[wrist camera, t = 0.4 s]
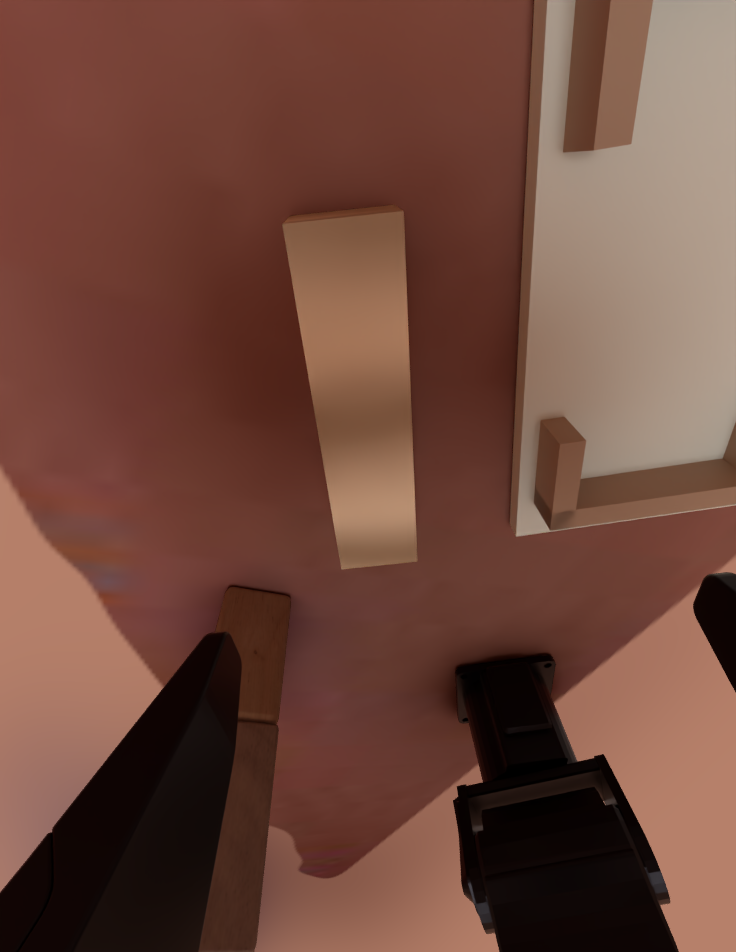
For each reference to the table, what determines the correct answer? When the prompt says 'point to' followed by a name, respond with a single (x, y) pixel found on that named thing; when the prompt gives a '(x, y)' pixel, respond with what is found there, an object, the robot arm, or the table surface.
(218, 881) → the wooden block
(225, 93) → the table surface
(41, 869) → the robot arm
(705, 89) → the slat board
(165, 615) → the table surface
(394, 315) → the slat
